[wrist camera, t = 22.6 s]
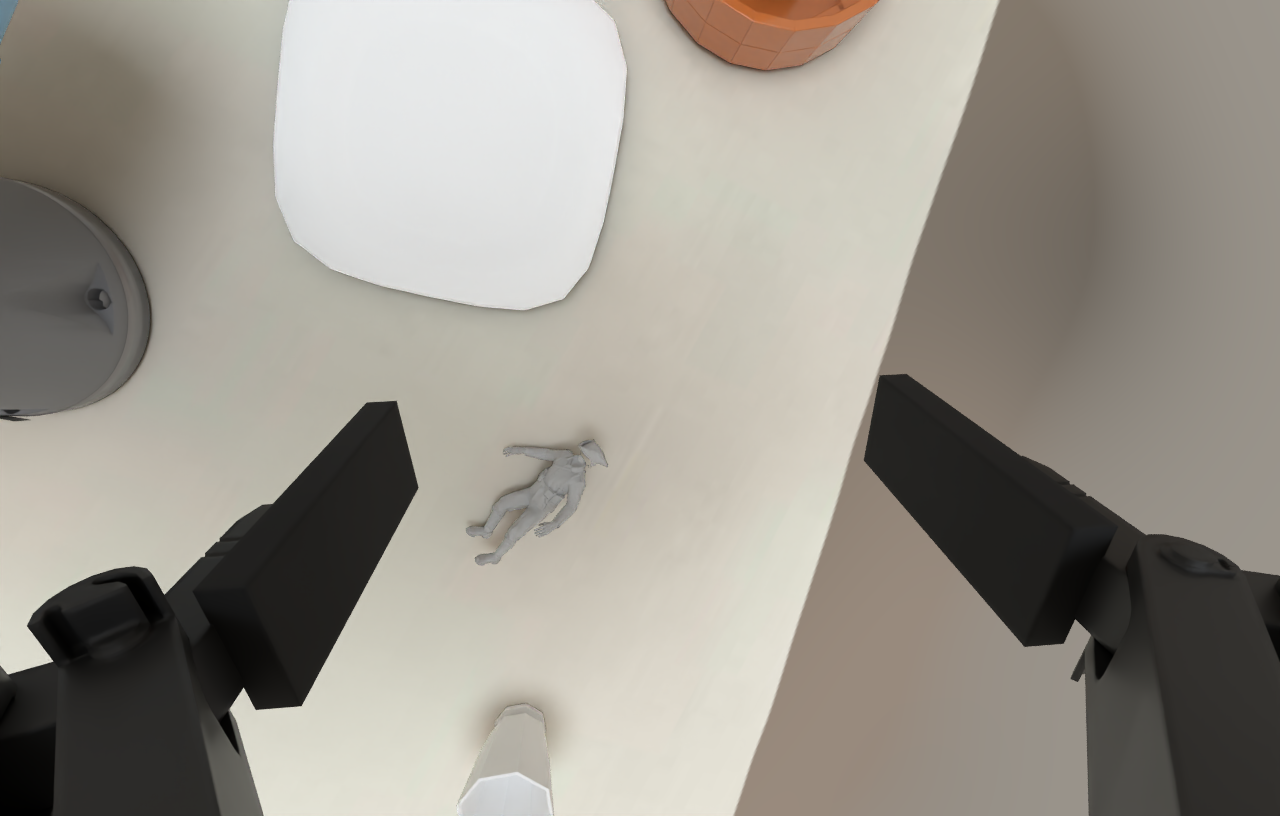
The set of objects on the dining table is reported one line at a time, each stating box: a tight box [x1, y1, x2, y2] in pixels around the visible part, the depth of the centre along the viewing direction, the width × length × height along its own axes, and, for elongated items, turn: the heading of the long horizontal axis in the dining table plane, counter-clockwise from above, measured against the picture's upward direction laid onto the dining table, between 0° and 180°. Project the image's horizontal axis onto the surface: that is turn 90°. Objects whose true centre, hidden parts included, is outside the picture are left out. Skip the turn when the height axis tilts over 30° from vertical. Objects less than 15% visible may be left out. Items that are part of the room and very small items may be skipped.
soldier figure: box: [466, 439, 608, 565], centre depth 39 cm, size 8×5×12 cm
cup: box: [456, 703, 554, 816], centre depth 41 cm, size 7×10×8 cm
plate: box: [273, 0, 627, 310], centre depth 35 cm, size 22×22×2 cm
